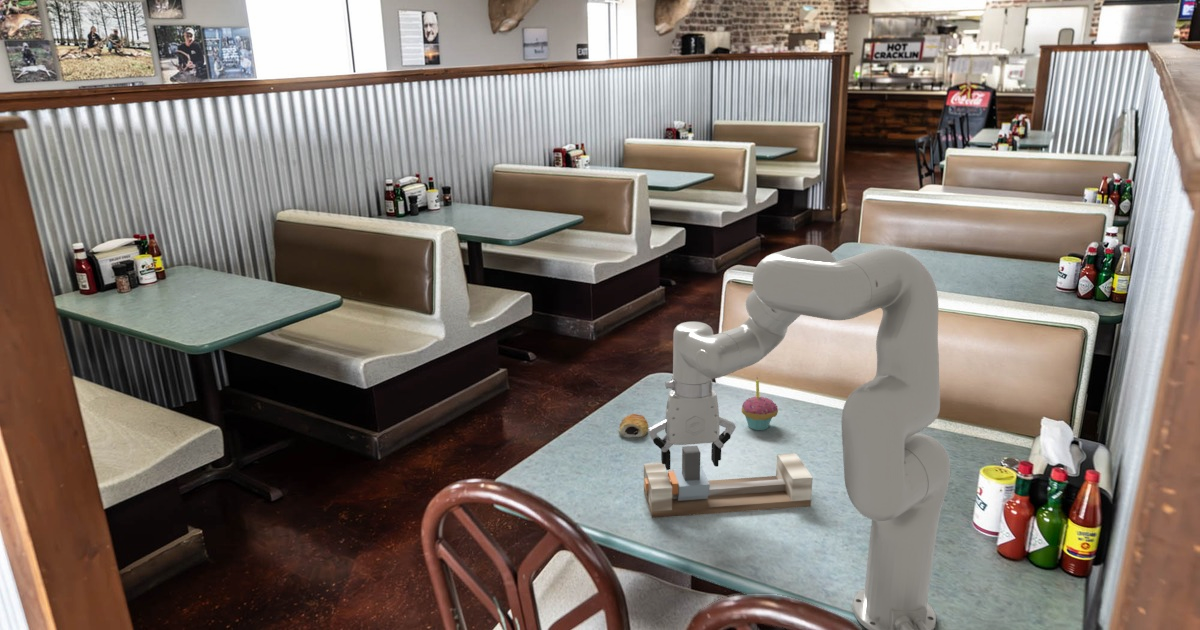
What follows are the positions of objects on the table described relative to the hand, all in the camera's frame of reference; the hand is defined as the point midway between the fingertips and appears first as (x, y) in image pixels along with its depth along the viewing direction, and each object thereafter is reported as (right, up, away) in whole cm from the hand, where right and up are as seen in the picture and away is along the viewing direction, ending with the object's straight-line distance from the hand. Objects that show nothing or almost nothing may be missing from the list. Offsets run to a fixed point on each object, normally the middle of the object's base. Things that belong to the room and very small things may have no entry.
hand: (691, 464), depth 163 cm
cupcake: (+20, +3, +34) cm, 40 cm away
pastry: (-10, +2, +33) cm, 35 cm away
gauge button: (-6, -5, +1) cm, 8 cm away
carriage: (0, -6, +2) cm, 7 cm away
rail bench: (+7, -7, +3) cm, 11 cm away
